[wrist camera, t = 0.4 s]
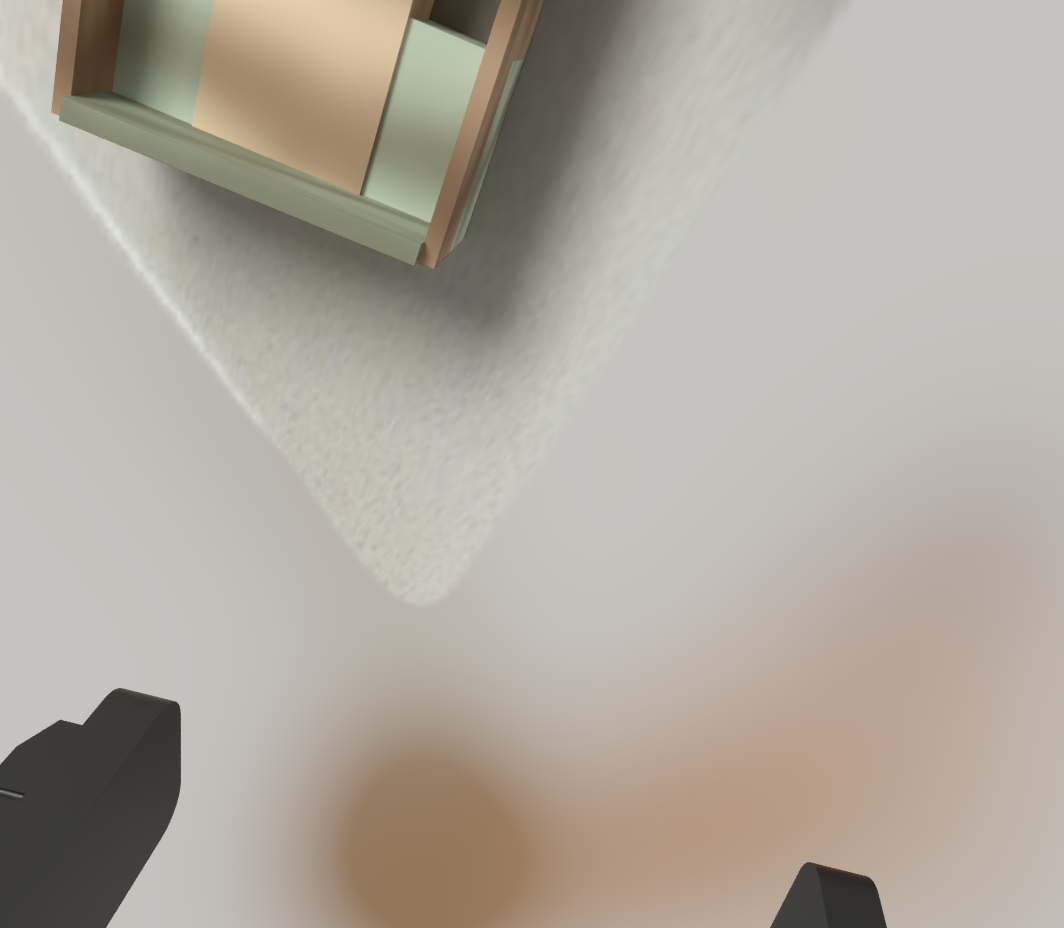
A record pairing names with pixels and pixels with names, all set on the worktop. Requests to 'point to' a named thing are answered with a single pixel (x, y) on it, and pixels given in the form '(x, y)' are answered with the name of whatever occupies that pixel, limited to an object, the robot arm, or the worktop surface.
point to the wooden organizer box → (304, 104)
